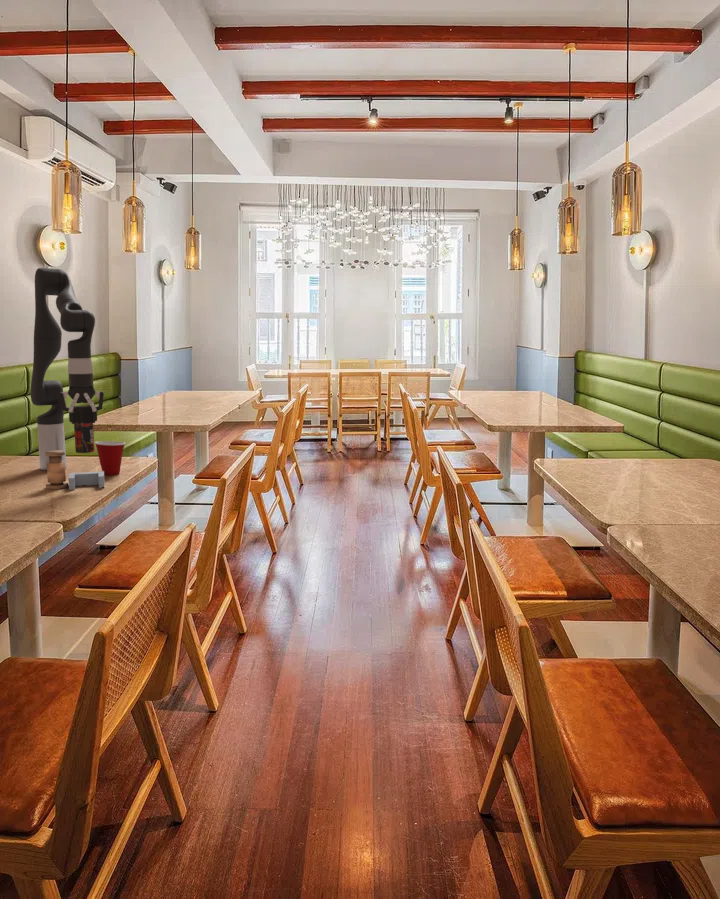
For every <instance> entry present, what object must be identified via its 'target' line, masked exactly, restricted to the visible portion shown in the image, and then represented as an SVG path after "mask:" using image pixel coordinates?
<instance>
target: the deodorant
mask: <svg viewBox="0 0 720 899" xmlns="http://www.w3.org/2000/svg"><path fill="white" fill-rule="evenodd" d="M92 411H93V410H92V408H91V406H90V405H75V406H74V409H73V415H74V424H73V430H74V431H73V432H74V433H73V434H74V446H75V453H77V454H90V453H94V452H95V435H94V434H95V433H94V423H93V415H92Z"/></svg>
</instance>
